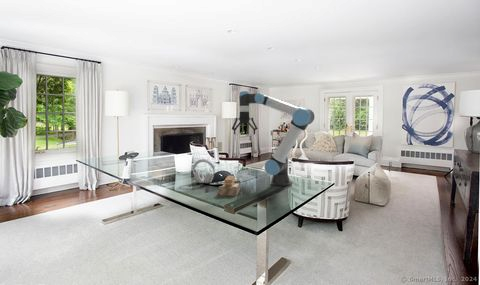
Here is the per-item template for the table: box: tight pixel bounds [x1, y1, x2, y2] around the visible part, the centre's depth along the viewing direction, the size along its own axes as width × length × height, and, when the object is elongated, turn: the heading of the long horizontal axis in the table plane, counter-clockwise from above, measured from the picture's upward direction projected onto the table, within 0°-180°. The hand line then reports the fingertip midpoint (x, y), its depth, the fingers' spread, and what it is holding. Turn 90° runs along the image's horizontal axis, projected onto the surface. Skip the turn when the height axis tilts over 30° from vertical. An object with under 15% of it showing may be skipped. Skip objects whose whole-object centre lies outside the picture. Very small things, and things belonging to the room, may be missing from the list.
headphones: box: [192, 158, 216, 184], centre depth 216 cm, size 18×10×20 cm, turn 79°
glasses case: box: [223, 175, 236, 187], centre depth 190 cm, size 5×14×6 cm, turn 172°
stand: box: [218, 179, 241, 197], centre depth 191 cm, size 12×20×6 cm, turn 171°
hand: (244, 138), depth 208 cm, fingers open, 13 cm apart
